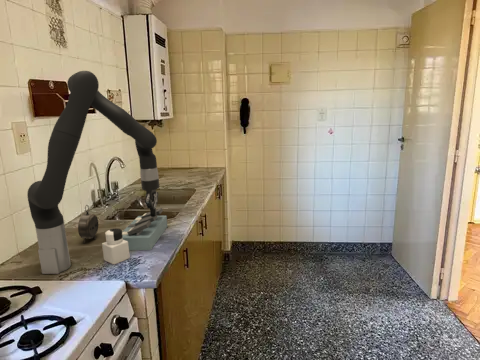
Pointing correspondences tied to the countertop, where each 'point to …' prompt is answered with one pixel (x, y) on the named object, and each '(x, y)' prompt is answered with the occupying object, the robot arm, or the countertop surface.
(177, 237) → the countertop surface
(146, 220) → the switch
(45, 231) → the robot arm
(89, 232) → the alarm clock
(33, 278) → the countertop surface
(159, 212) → the switch
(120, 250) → the medicine bottle
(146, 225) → the switch
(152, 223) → the switch box
